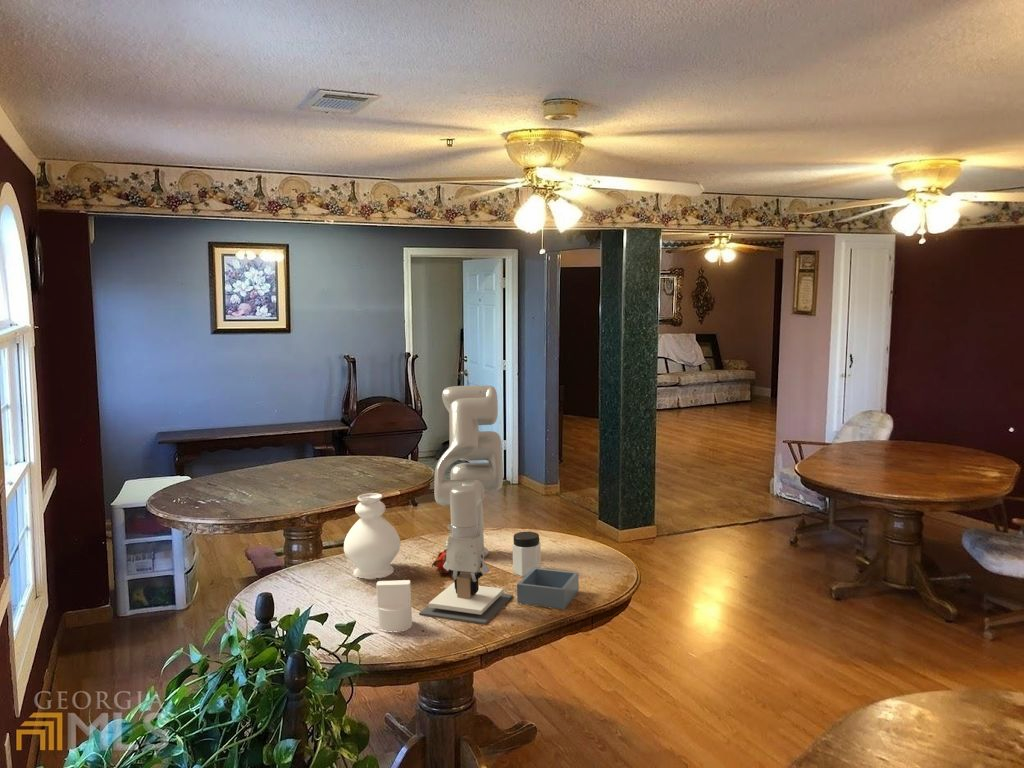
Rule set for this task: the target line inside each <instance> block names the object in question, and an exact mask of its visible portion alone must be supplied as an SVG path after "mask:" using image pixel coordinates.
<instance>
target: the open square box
mask: <svg viewBox="0 0 1024 768" xmlns="http://www.w3.org/2000/svg"><path fill="white" fill-rule="evenodd" d="M579 576H580V575H579V572H577V571H568V570H567V571H566V570H559V569H549V568H542V567H541V568H533V569H532V570H531V571H530V572H529V573H528V574H527V575H526V576H525V577H522V578H521V580H520V581H518V583H516V596H517V598H516V602H517V604H518V603H519V605H525V604H528V605H527V606H533V605H537V606H536V607H540V606H544V607H543V608H548V607H551V608H550V609H555V608H557V609H558V610H566V608H567V607H568V606H569V605H570V603H571V602H572V601H573V600H574V598H575V597H576V596H577V594H578V593H579V592H580V588H579V587H580V586H579V585H580V584H579V578H580V577H579ZM578 591H579V592H578ZM520 603H521V604H520ZM545 606H546V607H545Z"/></svg>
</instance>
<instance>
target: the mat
mask: <svg viewBox="0 0 1024 768" xmlns="http://www.w3.org/2000/svg"><path fill="white" fill-rule="evenodd" d="M513 597H514V595H513V594H508V593H503V594H502V595H501V596H500V597H499V598H498V599H497V600H496V601H495V602H494V603H493V604H492V605H491V606H490V607H489V608H488V609H487V610H486V611H484V612H483V613H482V614H481V615H480V614H473V613H466V612H459V611H452V610H445V609H438V608H431V607H429V604H428V605H427V606H426V607H425V608H424V609H423V610H421V611H420V612H419V614H418V615H419V616H423V615H424V616H423V617H429V616H431V618H436V617H438V619H443V618H445V620H451V621H458V622H464V621H465V623H473V624H479V625H484V626H485V625H486V624H488V622H490V621H491V620H492V619H493V618H494V617H495V616H496V615H497V614H498V612H500V611H501V610H502V608H503V607H504V606H505V605H506V604H507V603H509V602H510V600H511V599H512V598H513ZM486 626H487V625H486Z"/></svg>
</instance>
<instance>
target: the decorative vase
mask: <svg viewBox="0 0 1024 768" xmlns="http://www.w3.org/2000/svg"><path fill="white" fill-rule="evenodd" d="M382 498H383V495H382V494H381V493H378V492H377V493H375V492H370V493H369V492H368V493H363V494H360V495H358V496H357V501H359V502H358V504H357V505H356V506H355V508H354V509H355V514H356V515H357V516H358V517H359V519H358V520H357V521H356V522H355V523H354V524H353V526H352V527H351V528H350V529H349V531H348V532H347V534H346V536H345V539H344V541H343V551H344V554H345V556H346V558H347V559H348V560H349V561H350V562H351V563H352V564H353V565H354V566H355V569H354V570H353V576H354V575H355V576H356V577H355V576H354V577H355V578H357V577H359V578H358V579H360V578H365V579H364V580H377V579H376V578H379V579H383V578H386V577H388V576H390V575H392V574H393V573H394V567H393V566H392V565H390V564H392V562H393V561H394V560H395V557H397V555H398V553H399V551H400V549H401V539H400V536H399V533H398V532H397V530H396V529H395V527H394V526H393V525H392V524H391V523H390V522H389V521H388V520H386V519H385V518H384V517H383V516H382V515H383V514H384V513H385V511H386V505H385V503H384V502H383V501H381V499H382ZM366 578H367V579H366ZM374 578H375V579H374Z"/></svg>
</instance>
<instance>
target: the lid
mask: <svg viewBox="0 0 1024 768" xmlns="http://www.w3.org/2000/svg"><path fill="white" fill-rule="evenodd" d="M471 581H472V577H471V573H470V572H462V571H461V574H460V575H459V576H457V593H456V589H455V582H453V583H451V584H449V586H447V587H446V588H445V589H444V590H442V592H440V593H439V594H438V595H437V596H435V597H434V598H433V599H431V600H430V601H429V602H428V605H429V607H431V608H438V609H445V610H452V611H459V612H466V613H473V614H480V615H481V614H482V613H483V612H484V611H486V610H487V609H488V608H489V607H490V606H491V605H492V604H493V603H494V602H495V601H496V600H497V599H498V598H499V597H500V596H501V595H502V594H505V593H504V591H505V590H504V588H500V587H493V586H484V585H479V589H478V591H477V593H476V594H475V595H471Z"/></svg>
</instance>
